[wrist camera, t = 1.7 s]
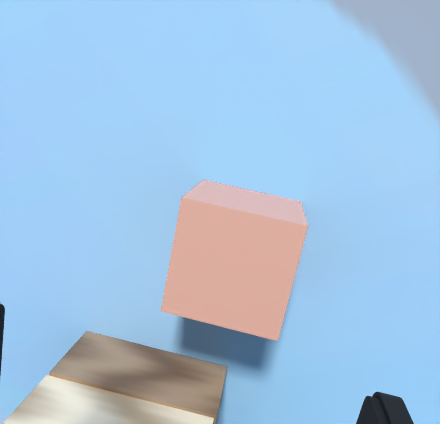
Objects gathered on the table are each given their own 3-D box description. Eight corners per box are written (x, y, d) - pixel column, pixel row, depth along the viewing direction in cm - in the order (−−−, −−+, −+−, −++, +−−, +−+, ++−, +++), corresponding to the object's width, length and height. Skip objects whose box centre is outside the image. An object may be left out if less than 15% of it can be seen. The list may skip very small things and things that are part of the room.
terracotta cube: (300, 201, 25) (308, 226, 19) (277, 291, 26) (277, 341, 20) (203, 179, 25) (181, 197, 19) (186, 269, 27) (160, 311, 21)
